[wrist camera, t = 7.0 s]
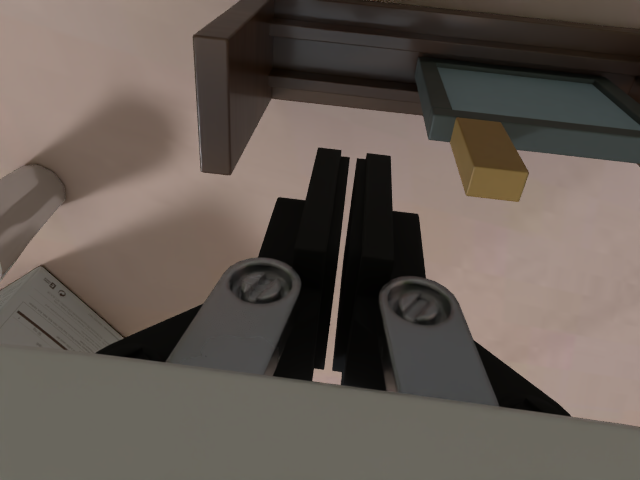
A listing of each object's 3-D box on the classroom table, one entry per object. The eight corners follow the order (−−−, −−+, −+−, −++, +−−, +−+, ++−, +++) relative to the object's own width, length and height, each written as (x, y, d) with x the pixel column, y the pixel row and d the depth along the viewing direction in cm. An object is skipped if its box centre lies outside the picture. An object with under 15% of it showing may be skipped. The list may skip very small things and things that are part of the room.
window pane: (418, 56, 24) (446, 162, 15) (605, 76, 24) (764, 199, 14) (414, 76, 25) (438, 193, 15) (596, 96, 25) (744, 228, 15)
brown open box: (254, -12, 25) (191, 34, 16) (667, 32, 24) (823, 103, 16) (254, 89, 28) (200, 172, 19) (623, 130, 27) (735, 235, 18)
